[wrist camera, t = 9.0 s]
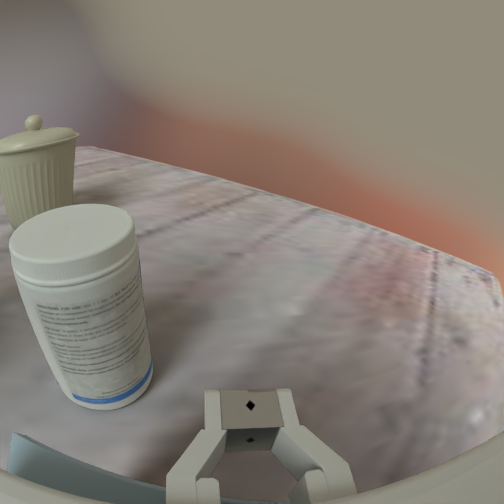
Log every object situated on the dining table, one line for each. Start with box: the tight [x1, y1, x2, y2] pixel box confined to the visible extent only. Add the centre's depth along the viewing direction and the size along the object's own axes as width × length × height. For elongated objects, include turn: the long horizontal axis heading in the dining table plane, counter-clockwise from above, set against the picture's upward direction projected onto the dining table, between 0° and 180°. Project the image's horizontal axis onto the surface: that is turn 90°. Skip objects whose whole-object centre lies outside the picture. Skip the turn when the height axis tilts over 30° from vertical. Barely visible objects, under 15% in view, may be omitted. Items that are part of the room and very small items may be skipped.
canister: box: [0, 115, 80, 230], centre depth 45 cm, size 18×18×21 cm
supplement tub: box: [9, 204, 153, 410], centre depth 21 cm, size 10×10×15 cm
